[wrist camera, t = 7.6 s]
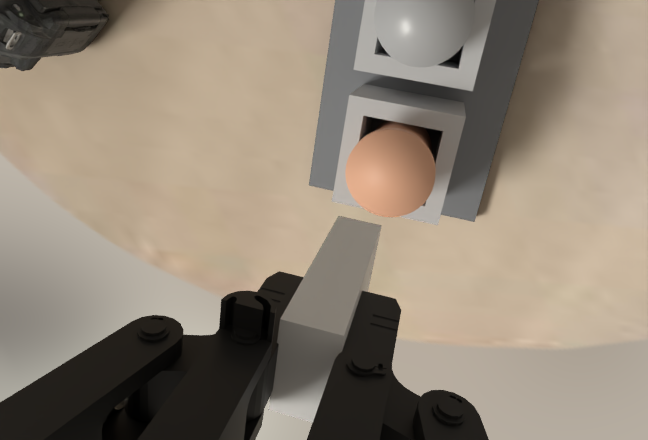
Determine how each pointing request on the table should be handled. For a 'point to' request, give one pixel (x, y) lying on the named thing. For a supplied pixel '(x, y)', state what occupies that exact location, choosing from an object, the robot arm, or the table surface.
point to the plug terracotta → (392, 169)
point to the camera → (46, 29)
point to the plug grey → (423, 29)
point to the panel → (421, 101)
